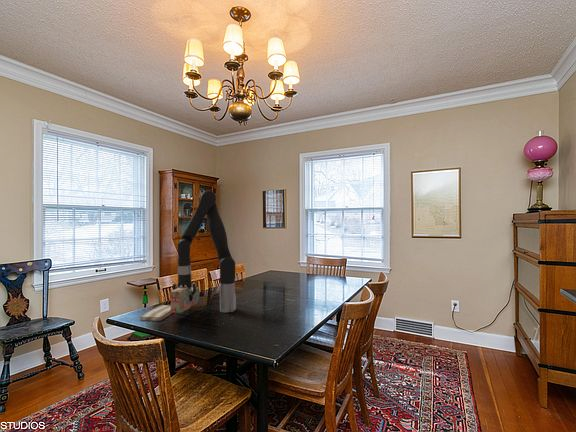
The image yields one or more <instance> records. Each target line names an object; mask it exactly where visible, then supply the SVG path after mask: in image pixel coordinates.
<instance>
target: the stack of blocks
mask: <svg viewBox="0 0 576 432" xmlns="http://www.w3.org/2000/svg"><path fill="white" fill-rule="evenodd" d="M199 288H200V287H197V288H196V293H195V294H193V300H192V301H190V296H189V295H190V294H189V292H188V289H189V290H190V289H192V291H193V287H192V286H191V287H190V288H189V287H188V288H185V287H182V288H180V287H179V286H178V287H177V289H175V290H170V295H169V297H170V305H171V313H172V314H182V313H183V312H185V311H187V310H188V309H190V308H192V307H193V306H195V305H197V304H198V303H200V289H199Z"/></svg>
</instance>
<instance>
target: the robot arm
mask: <svg viewBox="0 0 576 432" xmlns="http://www.w3.org/2000/svg"><path fill="white" fill-rule="evenodd" d="M216 195H217V194H216V193H215V192H213V191H212V190H205V191H203V192H202V193H201V195H200V198H199V199H200V200H199V202H198V206H197V208H196V210H195V212H194V214H193V216H191V219H190V220H189V221H188V224H187V226H186V228H185V229H184V232H183V235H182V236H181V238H179V239H180V240H179V241H178V243H177V255H178V256H177V257H178V258H177V281H178V282H175V283H173V284H172V289H173V290H175V289H177V288H179V287H180V288H182V287H185V288H188V287H189V288H190V287H193V291H192V289H190V290H189V289H188V292H189V294H190V295H189V296H190V301H192V300H193V294H195V293H196V288H198V286H197V285H198V284H197V283H196V282H195V283H192V265H191V245H192V243H193V241H194V239H195V237H196V236H197V234H198V233H199V230H200V229H201V226H202V224H203V222H204V220H205V218H206V221H207V226H208V230H209V233H210V236H211V237H210V238H211V240H212V242H213V244H214V247H215V249H216V252H217V256H218V257H217V258H218V265H219V312H220V313H234V312H235V310H236V309H237V294H236V262H235V260H234V258H233V256H232V254H231V251H230V249H229V242H228V235H227V232H226V231H227V230H226V229H225V225H224V222H223V220H222V218H221V216H220V212H218V211H219V210H218V207H217V202H216V201H217V196H216Z"/></svg>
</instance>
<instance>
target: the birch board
mask: <svg viewBox="0 0 576 432" xmlns="http://www.w3.org/2000/svg"><path fill="white" fill-rule="evenodd" d="M172 314H173V313H171V304H170V305H168V304H166V305H165V304H161V305H159V306H156V307H155V308H154V309H151V310H149V311H147V312H146V313H143V314H142V315H141V316H139V320H140V321H155V322H157V321H158V322H160V321H162V320H164V319H166V318H168V317H169V316H170V315H172Z"/></svg>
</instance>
